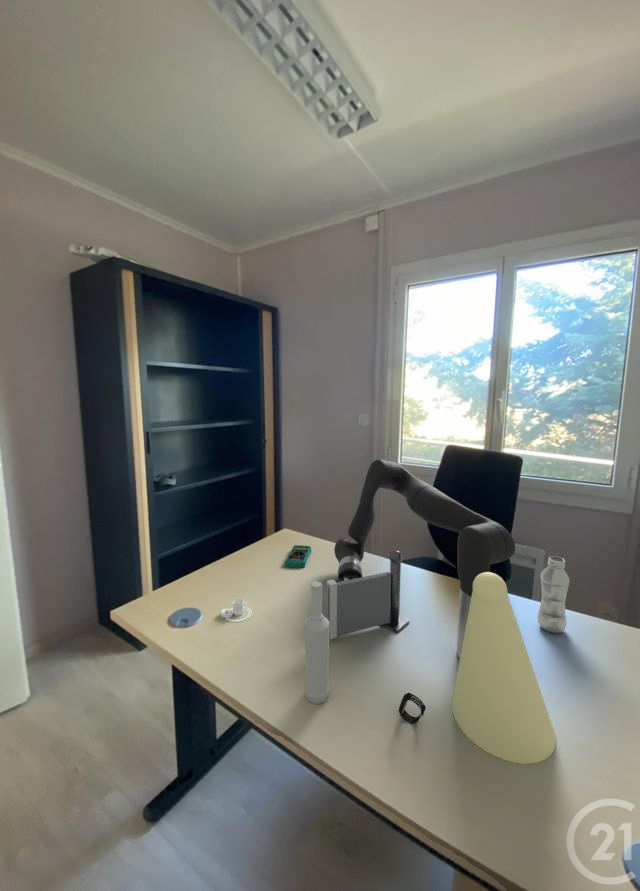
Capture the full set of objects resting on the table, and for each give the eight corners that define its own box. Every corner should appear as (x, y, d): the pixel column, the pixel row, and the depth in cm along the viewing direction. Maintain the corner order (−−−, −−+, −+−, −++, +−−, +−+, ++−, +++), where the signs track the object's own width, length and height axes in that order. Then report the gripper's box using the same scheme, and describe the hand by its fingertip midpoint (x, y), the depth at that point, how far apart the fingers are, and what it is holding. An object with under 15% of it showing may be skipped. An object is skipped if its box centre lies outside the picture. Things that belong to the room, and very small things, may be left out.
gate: (386, 618, 103) (387, 568, 101) (390, 623, 101) (392, 572, 99) (326, 633, 96) (326, 580, 95) (330, 639, 94) (330, 584, 92)
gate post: (409, 623, 103) (411, 550, 100) (397, 633, 99) (399, 557, 96) (390, 614, 107) (392, 544, 104) (378, 623, 103) (380, 550, 100)
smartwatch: (407, 707, 75) (407, 684, 75) (427, 724, 71) (428, 701, 70) (393, 717, 73) (393, 694, 72) (414, 736, 69) (414, 712, 68)
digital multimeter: (284, 568, 137) (284, 560, 136) (293, 551, 152) (293, 543, 151) (304, 569, 136) (304, 562, 135) (311, 552, 151) (311, 545, 150)
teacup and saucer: (216, 620, 105) (215, 607, 104) (229, 605, 112) (229, 593, 112) (244, 625, 103) (244, 611, 102) (256, 609, 110) (256, 596, 110)
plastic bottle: (571, 636, 97) (578, 564, 94) (545, 636, 97) (551, 564, 94) (556, 621, 103) (562, 553, 101) (531, 621, 103) (537, 553, 101)
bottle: (315, 681, 82) (315, 575, 79) (334, 693, 79) (334, 583, 75) (300, 696, 78) (298, 585, 75) (318, 709, 75) (318, 593, 71)
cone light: (471, 669, 85) (479, 524, 81) (564, 715, 73) (581, 547, 68) (420, 742, 67) (427, 561, 63) (533, 819, 55) (552, 601, 50)
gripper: (328, 560, 115) (326, 590, 98) (371, 562, 114) (376, 591, 97) (328, 583, 116) (326, 616, 99) (371, 584, 115) (375, 618, 98)
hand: (351, 604), depth 98 cm, fingers closed
